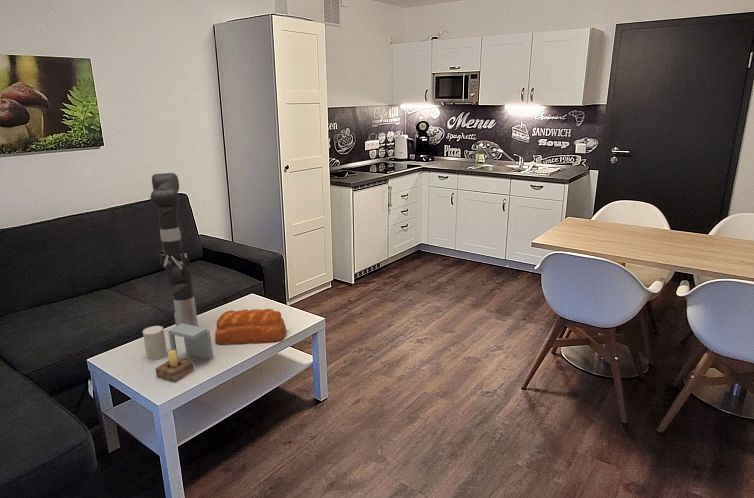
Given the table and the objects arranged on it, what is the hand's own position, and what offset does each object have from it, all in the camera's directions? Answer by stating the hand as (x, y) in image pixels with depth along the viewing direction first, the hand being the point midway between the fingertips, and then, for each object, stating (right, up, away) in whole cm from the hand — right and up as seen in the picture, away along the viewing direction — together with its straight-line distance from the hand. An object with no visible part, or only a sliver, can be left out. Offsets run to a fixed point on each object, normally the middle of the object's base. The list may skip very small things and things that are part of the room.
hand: (176, 276), depth 209 cm
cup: (-12, -35, +10) cm, 39 cm away
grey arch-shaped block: (+5, -36, +4) cm, 37 cm away
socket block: (+2, -39, -6) cm, 40 cm away
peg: (+2, -39, -6) cm, 40 cm away
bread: (+25, -30, +26) cm, 47 cm away
